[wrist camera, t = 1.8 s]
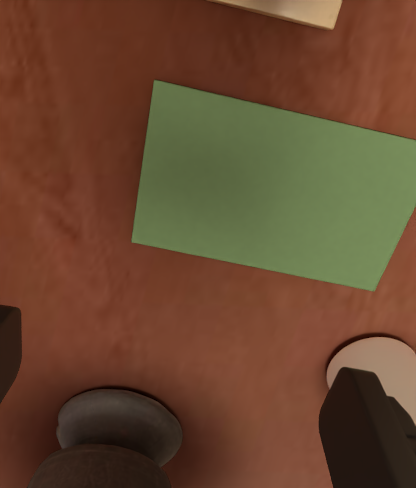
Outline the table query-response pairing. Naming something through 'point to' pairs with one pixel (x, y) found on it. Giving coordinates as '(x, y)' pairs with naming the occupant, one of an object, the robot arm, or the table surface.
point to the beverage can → (382, 367)
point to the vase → (111, 443)
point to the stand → (292, 10)
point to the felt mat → (272, 187)
